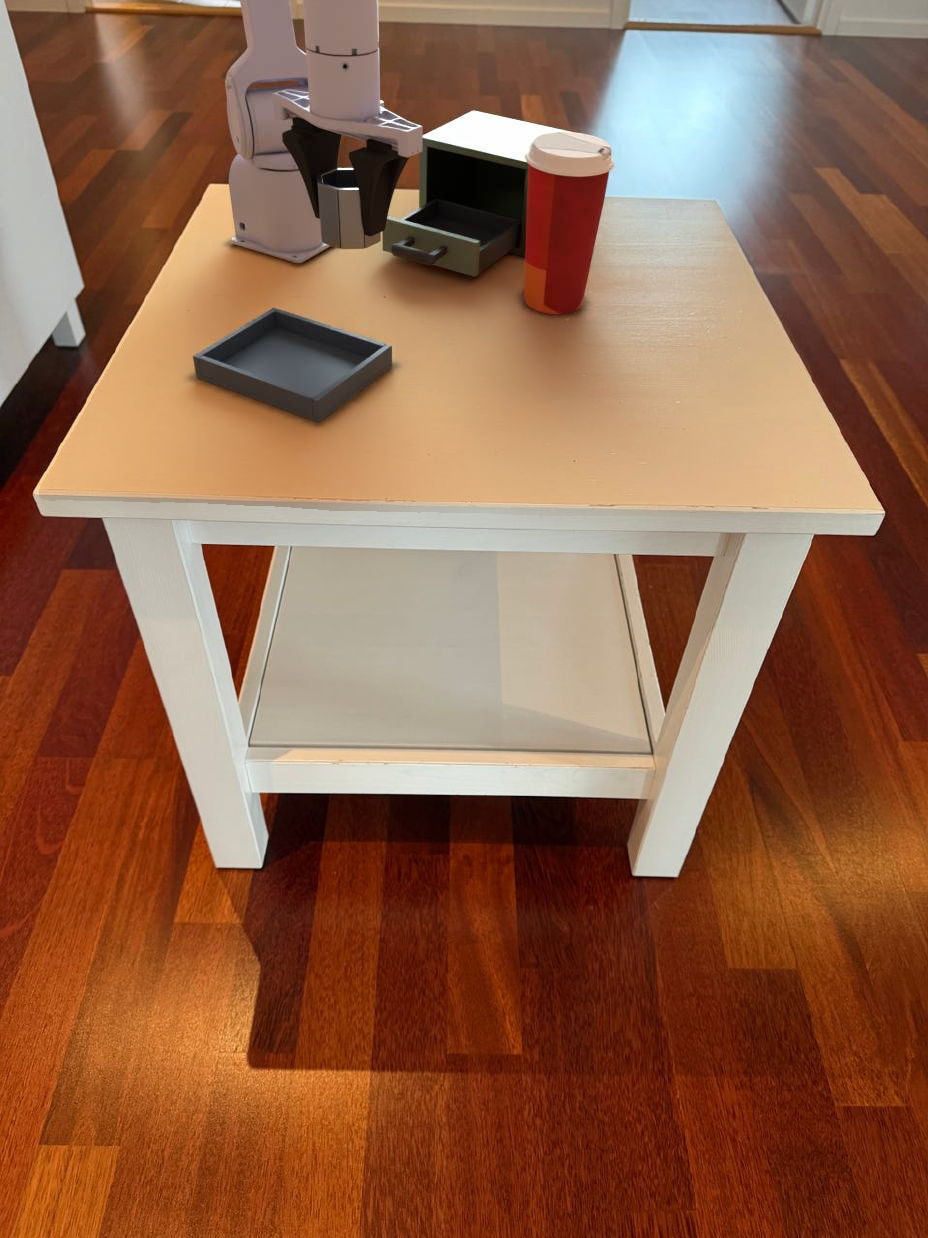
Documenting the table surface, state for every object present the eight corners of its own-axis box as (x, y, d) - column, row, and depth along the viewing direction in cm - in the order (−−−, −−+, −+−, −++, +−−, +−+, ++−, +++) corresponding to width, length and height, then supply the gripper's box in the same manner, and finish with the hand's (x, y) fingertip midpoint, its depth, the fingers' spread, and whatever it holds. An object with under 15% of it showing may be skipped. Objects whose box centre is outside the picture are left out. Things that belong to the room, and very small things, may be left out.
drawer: (363, 262, 97) (362, 228, 94) (435, 218, 106) (435, 186, 103) (457, 290, 93) (459, 255, 90) (522, 242, 102) (525, 209, 100)
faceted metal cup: (309, 238, 81) (304, 178, 78) (347, 221, 85) (345, 163, 81) (353, 254, 79) (351, 194, 76) (391, 236, 82) (390, 177, 79)
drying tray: (196, 377, 80) (192, 355, 79) (275, 327, 88) (273, 306, 86) (319, 423, 76) (317, 400, 75) (392, 366, 83) (392, 345, 82)
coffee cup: (603, 294, 96) (628, 139, 85) (577, 326, 90) (599, 165, 80) (529, 276, 98) (544, 123, 88) (499, 307, 93) (511, 147, 82)
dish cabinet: (418, 228, 106) (419, 136, 99) (469, 197, 114) (473, 109, 107) (526, 257, 102) (535, 163, 95) (571, 223, 109) (582, 133, 102)
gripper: (447, 55, 71) (442, 232, 81) (308, 22, 77) (319, 190, 86) (389, 72, 67) (392, 257, 76) (247, 36, 73) (266, 212, 82)
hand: (350, 223), depth 81 cm, fingers closed on faceted metal cup, 5 cm apart
